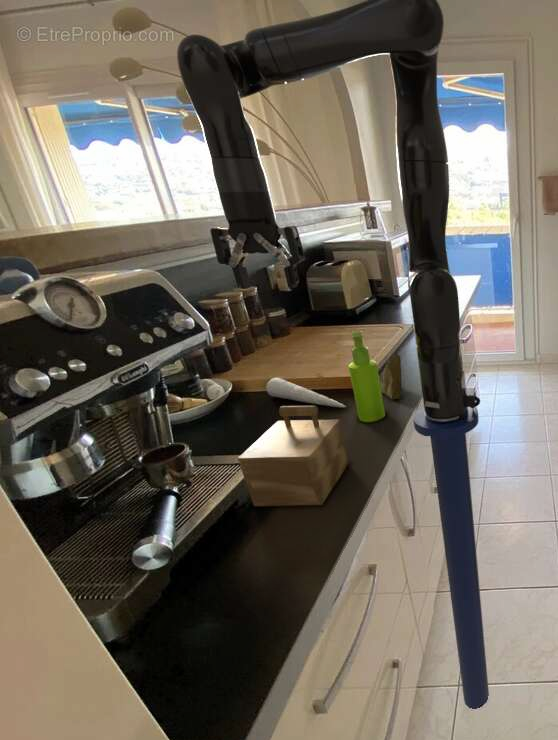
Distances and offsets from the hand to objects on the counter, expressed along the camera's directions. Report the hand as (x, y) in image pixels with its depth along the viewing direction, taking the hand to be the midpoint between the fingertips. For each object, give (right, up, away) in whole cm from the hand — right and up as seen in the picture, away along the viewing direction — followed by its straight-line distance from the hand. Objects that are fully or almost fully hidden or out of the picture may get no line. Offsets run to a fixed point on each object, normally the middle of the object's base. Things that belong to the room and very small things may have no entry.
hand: (269, 287), depth 81 cm
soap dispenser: (+10, -24, +24) cm, 36 cm away
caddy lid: (+7, -28, -4) cm, 29 cm away
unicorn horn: (-9, -21, +32) cm, 39 cm away
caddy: (+7, -36, -1) cm, 36 cm away
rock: (+11, -19, +36) cm, 42 cm away
